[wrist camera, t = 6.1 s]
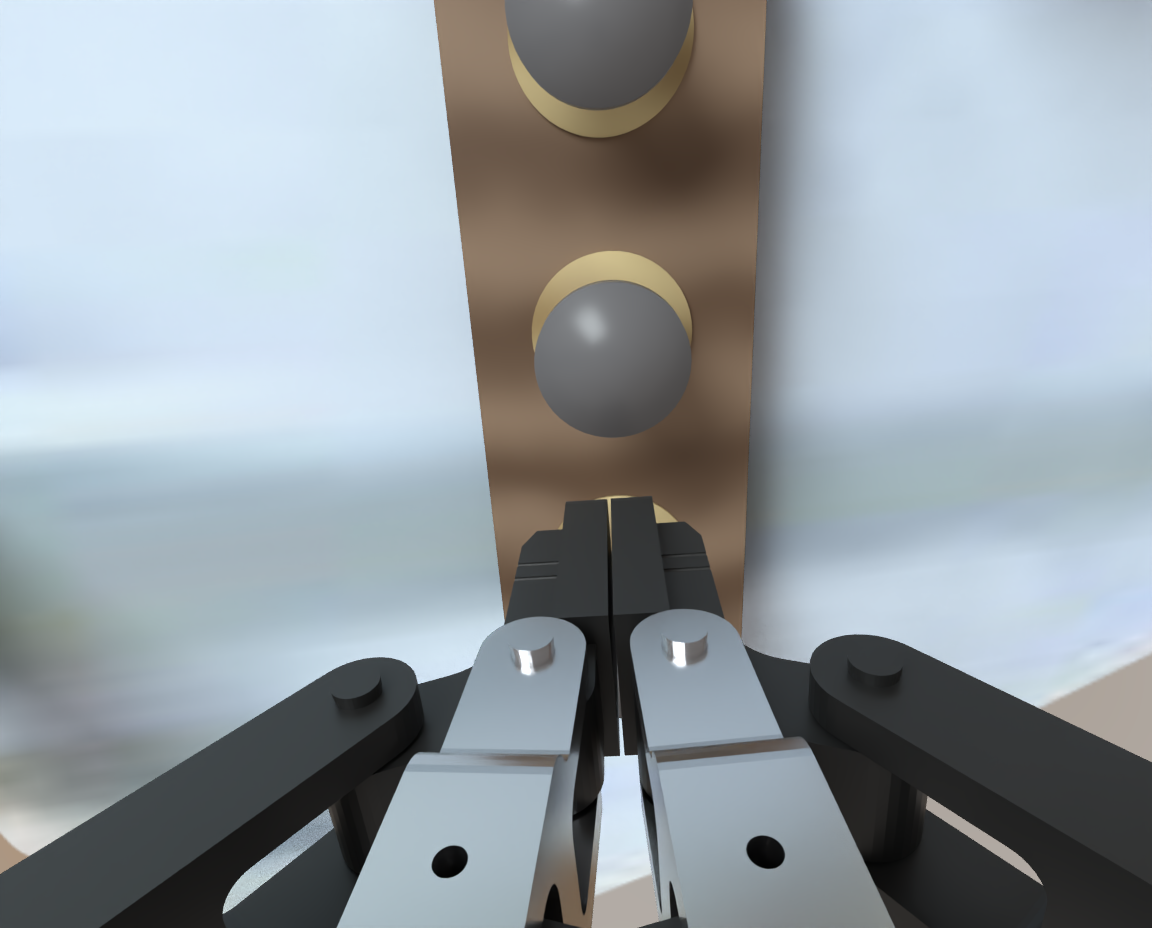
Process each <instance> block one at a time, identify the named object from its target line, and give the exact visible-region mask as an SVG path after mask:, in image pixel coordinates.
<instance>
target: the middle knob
mask: <svg viewBox="0 0 1152 928" xmlns="http://www.w3.org/2000/svg"><path fill="white" fill-rule="evenodd" d="M691 362H692V358H691V348H690V343H689V339H688V336H687V333H686V330H685V328H684V326H683V324H682V322H681V320H680V318H679V317H678V315H677V314H676V312H675V311H674V309H673V308H672V307H671V306H670V305H669V303H668V302H667V301H666V300H665V299H663V298H662V297H661V296H660V295H659V294H657V293H656V292H654V291H652V290H651V289H649V288H647V287H645V286H642V285H640V284H637V283H634V282H630V281H624V280H603V281H597V282H593V283H589V284H587V285H584V286H582V287H579V288H578V289H576V290H574V291H572V292H571V293H569V294H568V295H567V296H565V297H564V298H563V299H562V300H561V301H560V302H559V303H558V304H557V305H556V306H555V307H554V308H553V310H552V311H551V312H550V314H549V315H548V317H547V319H546V320H545V322H544V324H543V327H542V329H541V331H540V334H539V336H538V340H537V343H536V347H535V356H534V368H535V375H536V380H537V383H538V387H539V389H540V391H541V394H542V396H543V398H544V399H545V401H546V403H547V404H548V406H549V407H550V408H551V409H552V411H553V412H554V413H555V414H556V415H557V416H558V417H559V418H560V419H561V420H563V421H564V422H565V423H567V424H568V425H570V426H571V427H573V428H575V429H577V430H579V431H581V432H584V433H586V434H590V435H594V436H598V437H605V438H618V437H626V436H631V435H635V434H638V433H640V432H643V431H645V430H647V429H649V428H651V427H653V426H655V425H656V424H658V423H659V422H661V421H662V420H663V419H664V418H665V417H666V416H668V415H669V414H670V412H671V411H672V410H673V409H674V408H675V407H676V405H677V404H678V402H679V401H680V399H681V398H682V396H683V394H684V392H685V390H686V387H687V384H688V381H689V377H690V372H691Z"/></svg>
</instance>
